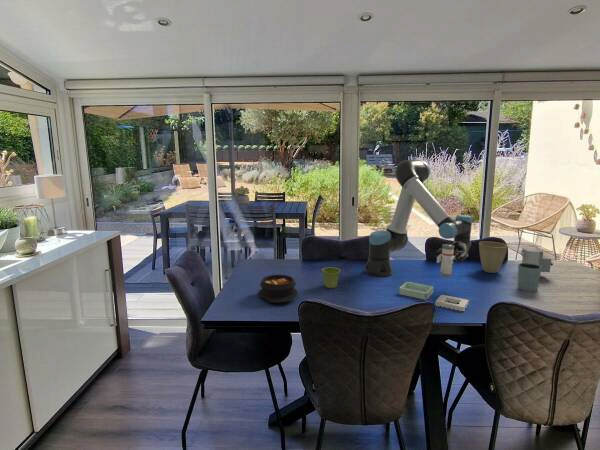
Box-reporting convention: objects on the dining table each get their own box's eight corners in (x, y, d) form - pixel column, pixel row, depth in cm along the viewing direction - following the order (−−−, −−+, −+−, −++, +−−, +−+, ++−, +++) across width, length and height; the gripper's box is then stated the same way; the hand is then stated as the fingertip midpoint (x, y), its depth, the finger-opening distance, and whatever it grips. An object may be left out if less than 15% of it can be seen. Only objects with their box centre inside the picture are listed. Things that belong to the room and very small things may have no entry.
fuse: (438, 275, 176) (441, 245, 173) (441, 272, 180) (444, 243, 177) (450, 277, 173) (452, 247, 170) (452, 274, 177) (455, 245, 174)
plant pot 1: (341, 284, 202) (342, 268, 200) (337, 290, 193) (338, 273, 192) (324, 282, 205) (324, 266, 203) (319, 288, 196) (319, 271, 195)
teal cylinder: (530, 293, 190) (533, 269, 188) (511, 286, 199) (513, 264, 197) (543, 290, 195) (546, 266, 193) (523, 283, 204) (526, 261, 201)
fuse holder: (435, 305, 175) (435, 301, 175) (441, 298, 183) (441, 294, 183) (463, 311, 168) (463, 307, 168) (468, 304, 176) (468, 300, 176)
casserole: (301, 305, 175) (301, 287, 174) (260, 307, 172) (259, 289, 171) (293, 286, 199) (293, 270, 198) (257, 288, 196) (256, 272, 195)
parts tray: (398, 293, 189) (399, 287, 188) (406, 287, 198) (406, 281, 197) (426, 299, 182) (426, 293, 181) (433, 292, 191) (433, 286, 190)
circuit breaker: (552, 279, 211) (555, 252, 208) (523, 277, 214) (526, 251, 211) (546, 274, 218) (550, 249, 216) (518, 273, 221) (521, 247, 218)
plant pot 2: (506, 276, 216) (509, 248, 213) (477, 273, 221) (480, 246, 218) (503, 268, 229) (506, 242, 226) (475, 266, 234) (478, 240, 231)
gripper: (475, 260, 185) (464, 273, 166) (437, 254, 195) (423, 265, 176) (477, 245, 184) (466, 256, 165) (438, 239, 193) (424, 249, 175)
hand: (444, 261), depth 170 cm, fingers closed on fuse, 5 cm apart
